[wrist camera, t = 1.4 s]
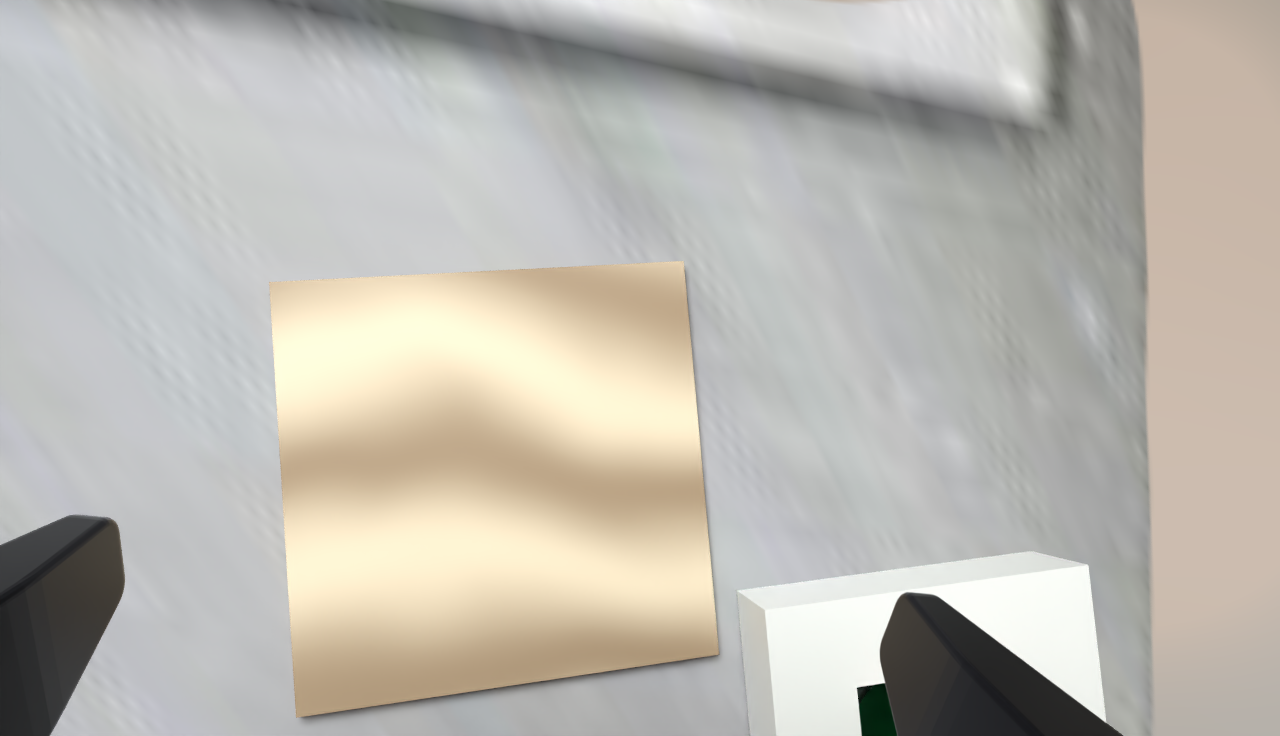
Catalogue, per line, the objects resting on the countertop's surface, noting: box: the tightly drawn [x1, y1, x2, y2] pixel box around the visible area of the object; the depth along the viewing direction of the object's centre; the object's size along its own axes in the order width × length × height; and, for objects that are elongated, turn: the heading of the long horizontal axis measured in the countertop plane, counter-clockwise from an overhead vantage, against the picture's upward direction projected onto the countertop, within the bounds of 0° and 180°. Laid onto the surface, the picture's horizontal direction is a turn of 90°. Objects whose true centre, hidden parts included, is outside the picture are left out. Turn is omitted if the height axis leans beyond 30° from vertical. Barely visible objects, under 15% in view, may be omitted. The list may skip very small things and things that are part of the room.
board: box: [269, 261, 719, 718], centre depth 27 cm, size 14×14×1 cm
